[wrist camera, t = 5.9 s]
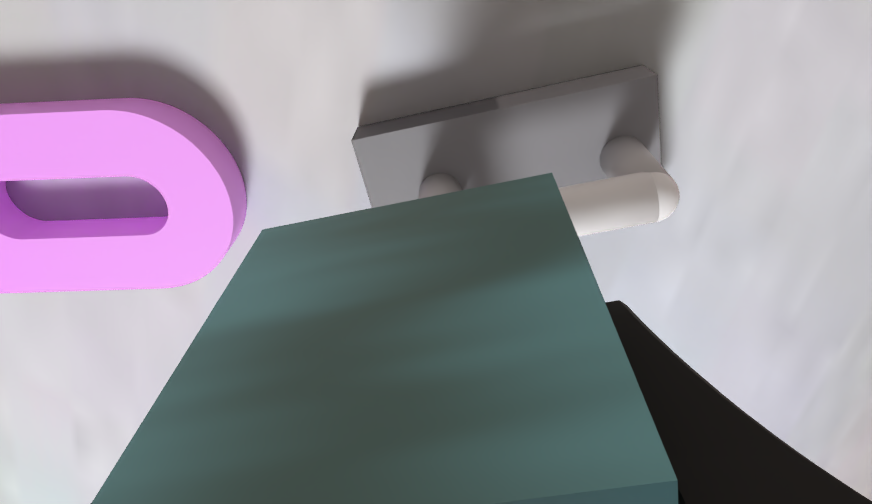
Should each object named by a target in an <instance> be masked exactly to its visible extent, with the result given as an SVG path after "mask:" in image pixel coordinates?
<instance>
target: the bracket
mask: <svg viewBox="0 0 872 504" xmlns="http://www.w3.org/2000/svg"><path fill="white" fill-rule="evenodd" d="M118 176H131V177H136V178H140V179H142V180H144V181H146V182H148V183H150V184H151V185H153V186H154V187H155V188H156V189H157V190H158V191H159V192H160V193H161V195H162V196H163V198H164V199H165V201H166V204H167V207H168V216H165V217H140V218H113V219H86V220H58V221H43V220H38V219H35V218H32V217H30V216H28V215H26V214H25V213H23V212H22V211H21V210H19V209H18V208H17V207H16V206H15V205H14V203H13V202H12V201H11V199H10V197H9V195H8V193H7V190H6V181H17V180H43V179H68V178H93V177H118ZM246 206H247V199H246V190H245V186H244V181H243V178H242V176H241V173H240V170H239V168H238V166H237V164H236V162H235V160H234V158H233V157H232V155H231V153H230V152H229V151H228V149H227V148H226V146H225V145H224V144H223V143H222V142H221V140H220V139H219V138H218V137H217V136H216V135H215V134H214V133H213V132H212V131H211V130H210V129H209V128H207V127H206V126H205V125H204V124H202V123H201V122H200V121H198V120H197V119H195V118H194V117H192V116H191V115H189V114H187V113H185V112H184V111H182V110H180V109H177V108H175V107H173V106H170V105H168V104H165V103H161V102H158V101H154V100H149V99H141V98H114V99H93V100H71V101H49V102H27V103H6V104H0V293H26V292H59V291H91V290H124V289H157V288H173V287H178V286H183V285H186V284H189V283H192V282H194V281H197V280H199V279H200V278H202V277H204V276H205V275H207V274H208V273H209V272H211V271H212V270H213V269H214V268H215V267H216V266H217V265H218V264H219V263H220V261H221V260H222V259H223V257H224V256H225V254H226V253H227V252H228V250H229V249H230V247H231V246H232V244H233V243H234V241H235V240H236V238H237V237H238V235H239V233H240V231H241V229H242V226H243V224H244V220H245V216H246Z"/></svg>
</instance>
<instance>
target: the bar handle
mask: <svg viewBox="0 0 872 504" xmlns="http://www.w3.org/2000/svg"><path fill="white" fill-rule="evenodd" d="M351 141H352V144H353V148H354V151H355V154H356V157H357V161H358V164H359V167H360V170H361V174H362V177H363V180H364V184H365V187H366V190H367V193H368V197H369V200H370V203H371V206H372V208H375V207H380V206H385V205H390V204H395V203H400V202H405V201H410V200H416V199H421V198H426V197H431V196H436V195H441V194H446V193H451V192H456V191H461V190H466V189H471V188H476V187H481V186H486V185H491V184H496V183H501V182H507V181H512V180H517V179H522V178H527V177H532V176H537V175H542V174H547V173H552V174H553V176H554V179H555V181H556V184H557V186H558V188H559V191H560V193H561V196H562V198H563V201H564V203H565V206H566V208H567V211H568V213H569V215H570V218H571V220H572V223H573V225H574V228H575V230H576V233H577V235H578V237H579V236H584V235H589V234H595V233H600V232H606V231H611V230H617V229H622V228H628V227H633V226H639V225H644V224H650V223H655V222H659V221H662V220H664V219H666V218H668V217H669V216H670V215H671V214H672V213H673V212H674V211H675V209H676V207H677V205H678V202H679V189H678V186H677V184H676V182H675V181H674V180H673V178H672V177H671V176H670V175H669V174H668V173H667V172H666V170H665V169H664V168H663V167H662V166H661V152H660V128H659V103H658V78H657V74H655V73H654V72H653V71H651V70H650V69H648V68H647V67H646V66H644V65H641V66H637V67H632V68H627V69H623V70H618V71H614V72H609V73H604V74H600V75H595V76H591V77H586V78H581V79H577V80H572V81H568V82H563V83H558V84H554V85H549V86H545V87H540V88H535V89H531V90H526V91H522V92H517V93H512V94H508V95H503V96H499V97H494V98H489V99H485V100H480V101H476V102H471V103H466V104H462V105H457V106H453V107H448V108H443V109H439V110H434V111H430V112H425V113H420V114H416V115H411V116H407V117H402V118H397V119H393V120H388V121H384V122H379V123H374V124H370V125H365V126H361V127H358V128H357V130H356V132H355V134H354V136H353V138H352V140H351Z"/></svg>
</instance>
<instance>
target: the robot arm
mask: <svg viewBox="0 0 872 504" xmlns="http://www.w3.org/2000/svg"><path fill="white" fill-rule="evenodd" d="M605 304H606V306H607V309H608V311H609V313H610V316H611V318H612V321H613V323H614V326H615V328H616V331H617V333H618V336H619V338H620V340H621V343H622V345H623V348H624V350H625V353H626V355H627V358H628V360H629V363H630V365H631V367H632V370H633V372H634V375H635V377H636V380H637V382H638V385H639V387H640V389H641V392H642V394H643V397H644V399H645V402H646V404H647V407H648V409H649V412H650V414H651V416H652V419H653V421H654V424H655V426H656V429H657V431H658V434H659V436H660V439H661V441H662V443H663V446H664V448H665V451H666V453H667V456H668V458H669V461H670V463H671V465H672V468H673V470H674V473H675V475H676V478H677V480H678V504H872V501H870V500H869V499H867V498H866V497H864V496H862V495H861V494H859V493H858V492H856V491H855V490H853V489H852V488H850V487H849V486H847V485H846V484H844V483H843V482H841V481H840V480H838V479H837V478H835V477H834V476H832V475H831V474H829V473H828V472H826V471H825V470H823V469H822V468H820V467H819V466H817V465H816V464H814V463H813V462H811V461H810V460H808V459H807V458H806V457H804V456H803V455H801V454H800V453H799V452H797V451H796V450H794V449H793V448H792V447H790V446H789V445H787V444H786V443H785V442H783V441H782V440H781V439H779V438H778V437H776V436H775V435H774V434H772V433H771V432H770V431H769V430H767V429H766V428H765V427H763V426H762V425H761V424H759V423H758V422H757V421H755V420H754V419H753V418H752V417H750V416H749V415H748V414H746V413H745V412H744V411H742V410H741V409H740V408H739V407H737V406H736V405H735V404H734V403H733V402H731V401H730V400H729V399H728V398H726V397H725V396H724V395H723V394H721V393H720V392H719V391H718V390H717V389H716V388H714V387H713V386H712V385H711V384H710V383H709V382H707V381H706V380H705V379H704V378H703V377H702V376H700V375H699V374H698V373H697V372H696V371H695V370H693V369H692V368H691V367H690V366H689V365H688V364H686V363H685V362H684V361H683V360H682V359H681V358H680V357H679V356H678V355H676V354H675V353H674V352H673V351H672V350H671V349H670V348H669V347H668V346H667V345H666V344H665V343H664V342H663V341H662V340H660V339H659V338H658V337H657V336H656V335H655V334H654V333H653V332H652V331H651V330H650V329H649V328H648V327H647V326H646V325H645V324H644V323H643V322H642V321H641V320H640V319H639V318H638V317H637V316H636V315H635V314H634V313H633V311H632V310H631V309H630V308H629V307H628V306H627V305H625V304H624V303H622V302H621V301H620V300H618V301H612V302H606V303H605Z"/></svg>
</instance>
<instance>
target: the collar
mask: <svg viewBox="0 0 872 504" xmlns="http://www.w3.org/2000/svg"><path fill="white" fill-rule="evenodd" d="M91 504H678V480H677V478H676V475H675V473H674V470H673V468H672V465H671V463H670V461H669V458H668V456H667V453H666V451H665V448H664V446H663V443H662V441H661V439H660V436H659V434H658V431H657V429H656V426H655V424H654V421H653V419H652V416H651V414H650V412H649V409H648V407H647V404H646V402H645V399H644V397H643V394H642V392H641V389H640V387H639V385H638V382H637V380H636V377H635V375H634V372H633V370H632V367H631V365H630V363H629V360H628V358H627V355H626V353H625V350H624V348H623V345H622V343H621V340H620V338H619V336H618V333H617V331H616V328H615V326H614V323H613V321H612V318H611V316H610V313H609V311H608V309H607V306H606V304H605V301H604V299H603V296H602V294H601V291H600V289H599V287H598V284H597V282H596V279H595V277H594V274H593V272H592V269H591V267H590V264H589V262H588V260H587V257H586V255H585V252H584V250H583V247H582V245H581V242H580V240H579V237H578V235H577V233H576V230H575V228H574V225H573V223H572V220H571V218H570V215H569V213H568V211H567V208H566V206H565V203H564V201H563V198H562V196H561V193H560V191H559V188H558V186H557V184H556V181H555V179H554V176H553V174H552V173H547V174H542V175H537V176H532V177H527V178H522V179H517V180H512V181H507V182H501V183H496V184H491V185H486V186H481V187H476V188H471V189H466V190H461V191H456V192H451V193H446V194H441V195H436V196H431V197H426V198H421V199H416V200H410V201H405V202H400V203H395V204H390V205H385V206H380V207H375V208H370V209H365V210H360V211H355V212H350V213H345V214H340V215H335V216H330V217H324V218H319V219H314V220H309V221H304V222H299V223H294V224H289V225H284V226H279V227H274V228H269V229H264V230H262V231H261V233H260V235H259V236H258V238H257V239H256V241H255V243H254V244H253V246H252V247H251V249H250V251H249V252H248V254H247V255H246V257H245V259H244V260H243V262H242V263H241V265H240V267H239V268H238V270H237V271H236V273H235V275H234V276H233V278H232V279H231V281H230V283H229V284H228V286H227V287H226V289H225V291H224V292H223V294H222V295H221V297H220V299H219V300H218V302H217V303H216V305H215V307H214V308H213V310H212V311H211V313H210V315H209V316H208V318H207V319H206V321H205V323H204V324H203V326H202V327H201V329H200V331H199V332H198V334H197V335H196V337H195V339H194V340H193V342H192V343H191V345H190V347H189V348H188V350H187V351H186V353H185V355H184V356H183V358H182V359H181V361H180V363H179V364H178V366H177V367H176V369H175V371H174V372H173V374H172V375H171V377H170V379H169V380H168V382H167V383H166V385H165V387H164V388H163V390H162V391H161V393H160V395H159V396H158V398H157V399H156V401H155V403H154V404H153V406H152V407H151V409H150V411H149V412H148V414H147V415H146V417H145V419H144V420H143V422H142V423H141V425H140V427H139V428H138V430H137V431H136V433H135V435H134V436H133V438H132V439H131V441H130V443H129V444H128V446H127V447H126V449H125V451H124V452H123V454H122V455H121V457H120V459H119V460H118V462H117V463H116V465H115V467H114V468H113V470H112V471H111V473H110V475H109V476H108V478H107V479H106V481H105V483H104V484H103V486H102V487H101V489H100V491H99V492H98V494H97V495H96V497H95V499H94V500H93V502H92V503H91Z"/></svg>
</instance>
